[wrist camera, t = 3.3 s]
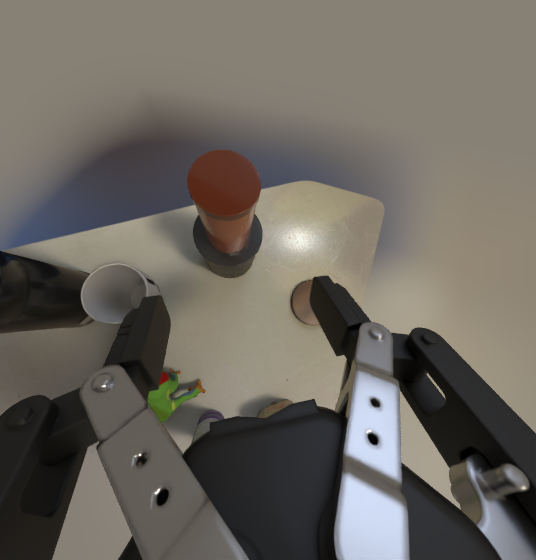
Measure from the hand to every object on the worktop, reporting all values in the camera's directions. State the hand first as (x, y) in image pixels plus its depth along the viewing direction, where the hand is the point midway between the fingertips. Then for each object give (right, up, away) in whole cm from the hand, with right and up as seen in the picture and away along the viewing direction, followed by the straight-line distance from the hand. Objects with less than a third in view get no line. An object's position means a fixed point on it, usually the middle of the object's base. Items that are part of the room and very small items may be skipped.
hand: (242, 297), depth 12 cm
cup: (-21, -2, +27) cm, 34 cm away
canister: (-4, +8, +18) cm, 20 cm away
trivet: (+10, -4, +31) cm, 33 cm away
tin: (-6, +6, +30) cm, 31 cm away
